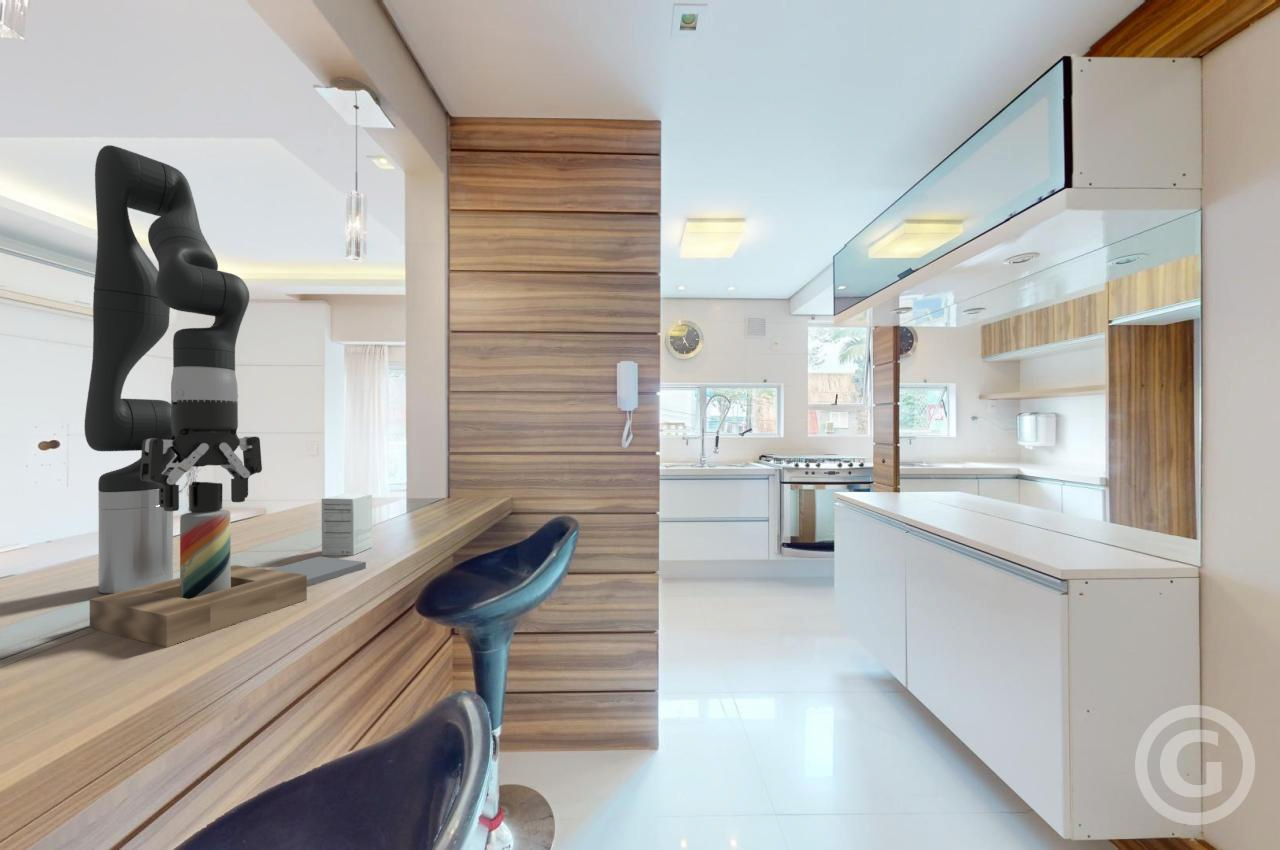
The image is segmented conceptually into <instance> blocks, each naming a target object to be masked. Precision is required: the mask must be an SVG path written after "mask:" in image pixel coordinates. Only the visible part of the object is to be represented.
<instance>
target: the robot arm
mask: <svg viewBox="0 0 1280 850" xmlns="http://www.w3.org/2000/svg"><path fill="white" fill-rule="evenodd" d="M94 168H95V169H94V191H95V205H96V227H97V232H96V233H97V245H96V247H97V248H96V259H95V260H96V261H95V270H94V271H95V274H94V284H93V299H92V300H93V302H92V305H93V306H92V319H93V320H92V321H93V323H92V325H93V327H92V328H93V329H92V331H93V332H92V333H93V334H92V337H93V338H92V339H93V340H92V360H91V361H92V363H91V370H90V379H89V385H88V392H87V399H86V405H85V412H84V413H85V415H84V436H85V440H86V442H87V445H88V446H89V447H90V449H92V450H94V451H96V452H129V451H130V452H133V451H136V452H137V451H138V452H139V451H141V457H140V458H139V459H137V460H136V461H134V462H132V463H130V464H128V465H126V466H124V467H121V468H118V469H115V470H111V471H109V472H106V473H103V474H101V475H100V476H99V479H98V489H97V490H98V493H97V495H98V593H100V592H101V594H114V593H118V592H123V591H127V590H131V589H135V588H139V587H144V586H148V585H152V584H156V583H161V582H165V581H169V580H172V579H174V512H176V511H179V510H180V485H179V484H177V483H178V481H179V480H180V479H181V478H182V477H183V475H184V474H185V473H187V472H189V470H191V469H192V467H193V468H194V467H195V468H196V467H198V468H200V467H206V466H220V467H221V468H223V469H225V470H226V471H227V472H228V473H229V475H231V476H232V477H233V478H230V487H231V488H230V490H231V491H230V492H231V493H230V494H231V497H230V500H231V502H232V503H243V502H245V501H246V499H247V498H248V496H249V478H250V476H253V475H254V474H255V475H256V474H260V473H261V472H262V471H263V467H262V465H263V464H262V463H263V462H262V450H261V439H260V438H259V436H244V437H240V438H239V436H238V434H237V432H238V431H237V430H238V427H239V417H238V416H239V414H238V411H239V408H238V407H239V406H238V405H239V402H238V401H239V400H238V398H239V394H238V391H239V390H238V389H239V388H238V381H237V380H238V379H237V377H236V376H237V375H236V344H237V339H238V336H239V335H238V334H239V332H240V328H241V324H242V322H243V318H244V316H245V313H246V311H247V309H248V305H249V303H250V292H249V291H250V290H249V288H248V286H247V284H246V282H245V281H244V280H243V279H242V278H241V277H239V276H238V275H237V274H234V273H230V272H226V271H222V270H218V269H219V264H218V260H217V258H216V255H215V253H214V251H213V250H212V248H211V246H210V245H209V243H208V241H207V239H206V237H205V236H204V233H203V232H202V230H201V225H200V221H199V216H198V211H197V208H196V207H197V206H196V203H195V201H194V200H195V199H194V196H193V192H192V189H191V186H190V183H189V181H188V179H187V177H186V176H185V175H184V173H183V172H182V171H181V170H180V169H178V168H176V167H175V166H172V165H170V164H168V163H167V164H166V163H165V162H161V161H158V160H157V159H153V158H150V157H148V156H145V155H143V154H140V153H138V152H137V153H136V152H134V151H130V150H128V149H125V148H122V147H119V146H114V145H111V144H107V145H105V146H103V147H101V148H100V150H99V151H98V154H97V156H96V161H95V167H94ZM128 209H132V210H135V211H139V212H141V213H146V214H149V215H153V216H157V217H158V218H156V219H155V220H154V221H152V223H151V224H150V226H149V228H148V232H147V238H148V240H147V241H148V243H149V246H150V249H151V250H152V252H153V254H154V256H155V259H156V261H157V263H158V268H157V267H156V266H155V265H154V263H153V262H152V260H151V259H150V257H148V255H147V253H146V252H145V251H144V249H143V247H142V246H141V244H140V243H139V241H138V239H137V237H136V235H135V232H134V230H133V228H132V225H131V220H130V216H129V210H128ZM171 309H172V310H176V311H179V312H185V313H190V314H191V313H192V314H199V315H205V316H209V317H210V316H211V317H214V321H213V323H212V324H211V326H209V327H192V328H191V327H189V328H182V329H179V330H176V332H174V335H173V341H172V349H173V350H172V352H173V354H172V355H173V356H172V359H173V360H172V361H173V362H172V364H173V365H172V366H173V368H172V376H171V382H170V402H169V401H167V400H163V399H144V398H143V399H141V398H122V392H123V388H124V385H125V381H126V380H127V378H128V375H129V374H130V372H131V371H132V370H133V368H134V367H135V366H136V364H137V363H138V362H140V360H141V359H142V358H143V357H144V356H145V355H146V354H147V353H148V352H149V351H150V350H151V349H152V348H153V347H154V346H156V344H157V343H159V342H160V340H161V339H162V338H163V337H164V336H165V335H166V333H167V331H168V330H169V327H170V326H169V325H170V314H171V313H170V312H171ZM238 447H239V449H240V450H241V451H242V456H243V457H242V458H243V461H242V459H240V458H239V456H238V455H237V454H236V453H235V451H236V450H237V449H238Z"/></svg>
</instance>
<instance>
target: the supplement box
mask: <svg viewBox="0 0 1280 850" xmlns="http://www.w3.org/2000/svg"><path fill="white" fill-rule="evenodd" d="M371 548H373V494H372V493H341V494H337V495H332V496H328V497H323V498H321V555H322V554H323V555H322V556H341V555H351V556H356V554H359V553H361V552H364V551H367V550H370V549H371Z"/></svg>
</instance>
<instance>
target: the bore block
mask: <svg viewBox="0 0 1280 850" xmlns="http://www.w3.org/2000/svg"><path fill="white" fill-rule="evenodd" d="M307 587H308V586H307V575H302V574H295V573H288V572H281V571H274V570H269V569H266V568H260V567H251V566H245V565H239V564H238V565H237V564H233V565H231V588H228V589H224V590H220V591H217V592H213V593H210V594H206V595H202V596H199V597H195V598H191V599H186V598H180V577H178V578H173V580H169V581H165V582H161V583H156V584H152V585H148V586H144V587H139V588H135V589H131V590H127V591H123V592H118V593H109V594H105V595H103V596H98V597H94V598H91V599H89V628H90V629H92V630H95V631H101V632H104V633H109V634H112V635H117V636H120V637H125V638H129V639H132V640H137V641H142V642H145V643H149V644H153V645H156V646H160V647H164V648H168V647H172V646H175V645H178V644H180V642H181V643H184V642H186V640H187V641H189V639H190V640H192V638H193V639H196V638H199V637H201V636H204V635H207V634H210V633H212V632H216V631H219V630H222V629H224V628H228V627H230V625H231V626H234V625H236V623H237V624H240V623H242V622H241V621H243V622H245V621H244V620H246V621H248V620H247V619H249V620H251V619H255V618H256V617H261V616H263V615H265V613H266V614H268V612H269V613H271V611H272V612H275V611H277V609H278V610H280V609H279V608H281V609H283V608H282V607H284V608H287V607H289V606H288V605H290V606H292V604H293V605H296V604H298V602H299V603H301V601H302V602H303V600H305V601H306V600H308V599H307V598H308V597H307V594H308V592H307V591H308V589H307ZM295 603H296V604H295ZM286 606H287V607H286ZM274 610H275V611H274ZM239 622H240V623H239ZM233 624H234V625H233ZM227 626H228V627H227ZM183 641H184V642H183ZM177 643H178V644H177Z"/></svg>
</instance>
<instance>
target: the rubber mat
mask: <svg viewBox="0 0 1280 850" xmlns="http://www.w3.org/2000/svg"><path fill="white" fill-rule="evenodd" d="M366 562H367V561H361V560H360V561H359V560H353V559H344V558H336V557H335V558H334V557H327V556H326V557H325V556H316V557H312V558H308V559H304V560H301V561H296V562H293V563H289V564H286V565H282V566H278V567H274V568H270V569H268V570H274V571H281V572H288V573H295V574H302V575H307V587H309V586H313V584H314V585H316V583H317V584H319V582H320V583H322V581H323V582H326V581H329V580H333V579H335V577H336V578H338V577H342V576H346V575H347V574H348V575H349V574H351V573H354V572H358V571H360V570H361V571H362V570H364V569H366V567H367V565H366V564H367V563H366ZM332 578H333V579H332ZM325 580H326V581H325Z"/></svg>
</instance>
